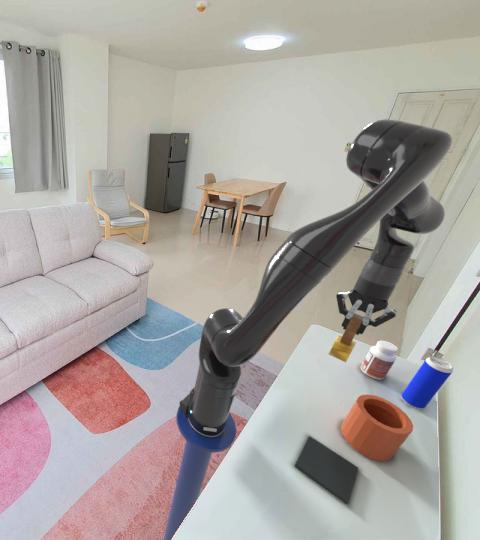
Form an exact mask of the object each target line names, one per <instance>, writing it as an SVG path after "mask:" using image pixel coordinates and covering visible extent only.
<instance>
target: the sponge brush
mask: <svg viewBox="0 0 480 540" xmlns="http://www.w3.org/2000/svg"><path fill="white" fill-rule="evenodd" d="M364 317H365V316H363V315H360V314H357V313H356V312H355V313H354V314H353V316H352V318H351V320H350V322H349V324H348V326H347V328H346V330H344V332H343V334H342V335H340V334H338V335H337V337H336V339H335V340H334V342H333V344H332V346H331V348H330V351H329V352H328V355H330V356H331V357H333V358H336V359H338V360H340V361H341V362H344V363H347V361H348V359H349V358H350V355H351V353H352V352H353V350H354V348H355V345H356V344H357V342H356V341H354V338H355V336H356V332H357V330H358V329H359V327H360V325H361V323H362V321H363V320H364Z"/></svg>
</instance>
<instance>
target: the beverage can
mask: <svg viewBox="0 0 480 540" xmlns="http://www.w3.org/2000/svg"><path fill="white" fill-rule="evenodd" d="M453 372H454V366H453V364H452V363H450V362H449V361H447V360H445V359H444V358H441V357H439V356H433V355H432V356H429V357H427V358H426V359H425V360H424V361H423V363H422V364H421V365H420V367H419V368H418V369H417V371H416V372H415V374H414V376H413V377H412V378H411V380H410V382H409V383H407V384H408V385H407V386H406V387H405V388H404V389H403V391H402V393H401V394H400V395H401V399H402V401H403V402H404V403H405V404H406V405H408V406H410V407H412V408H414V409H419V410H420V409H421V410H422V409H425V408H426V407H427V406H428V405H429V403H430V402H431V401H432V399H433V398H434V397H435V396H436V394H437V393H438V392H439V390H440V389H441V387H443V386H444V384H445V382H446V381H447V380H448V379H449V377H450V376H451V375H452V374H453Z"/></svg>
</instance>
